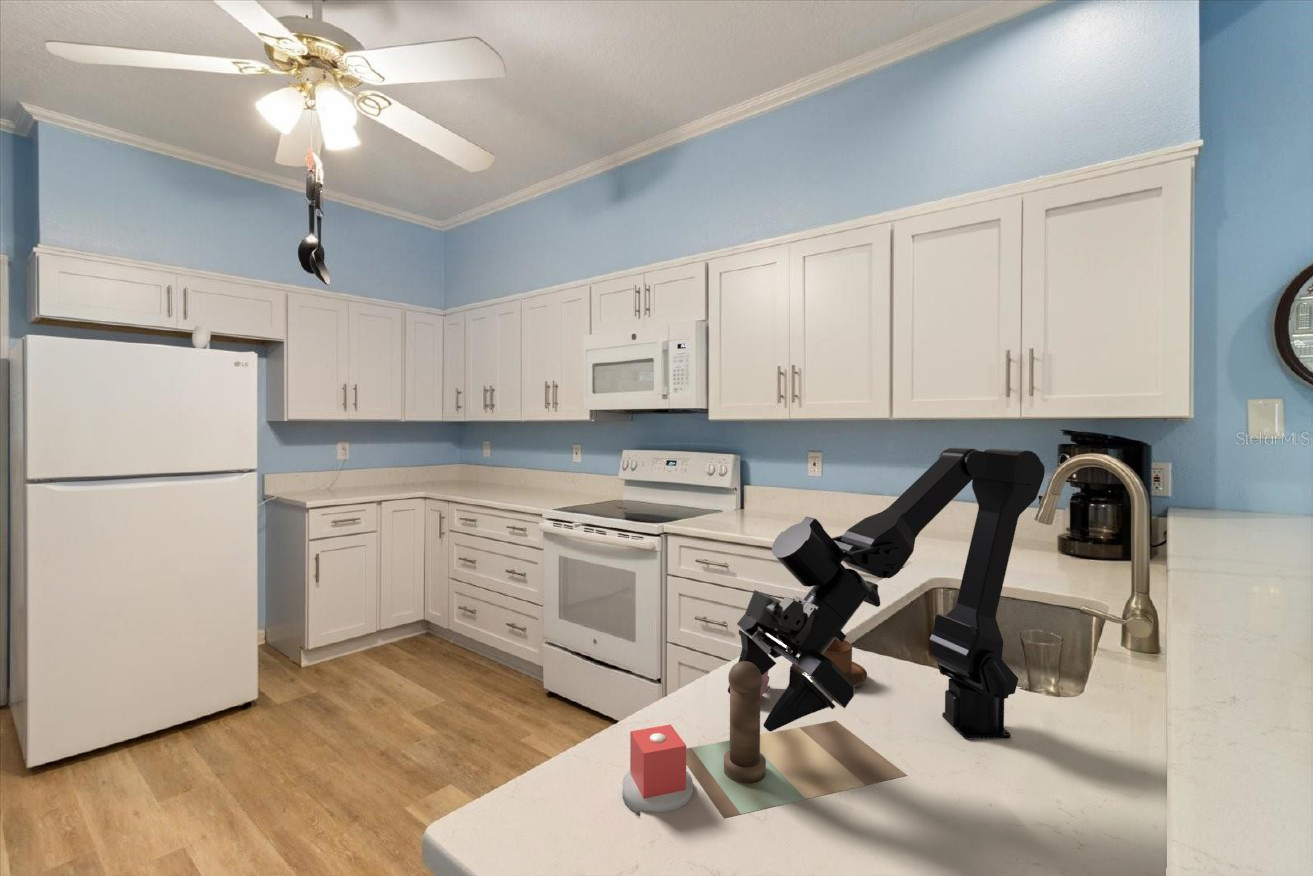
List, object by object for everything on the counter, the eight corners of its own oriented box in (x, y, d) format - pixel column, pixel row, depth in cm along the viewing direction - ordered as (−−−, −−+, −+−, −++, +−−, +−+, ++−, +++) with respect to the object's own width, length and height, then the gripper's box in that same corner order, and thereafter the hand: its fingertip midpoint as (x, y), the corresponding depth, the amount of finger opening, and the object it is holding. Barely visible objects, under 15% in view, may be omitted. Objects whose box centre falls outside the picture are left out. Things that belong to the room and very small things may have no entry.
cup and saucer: (780, 685, 98) (780, 647, 98) (806, 661, 108) (806, 627, 108) (855, 704, 92) (855, 663, 92) (875, 676, 102) (875, 640, 102)
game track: (835, 724, 85) (835, 720, 85) (907, 780, 72) (907, 775, 72) (676, 755, 77) (676, 750, 77) (724, 823, 64) (724, 818, 64)
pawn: (761, 759, 75) (762, 654, 75) (769, 783, 70) (770, 670, 70) (721, 759, 75) (721, 654, 75) (726, 783, 70) (727, 671, 70)
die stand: (677, 769, 74) (677, 715, 74) (703, 808, 66) (704, 749, 66) (614, 781, 71) (614, 726, 71) (634, 824, 64) (634, 762, 64)
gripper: (750, 552, 83) (674, 642, 79) (832, 588, 65) (740, 705, 62) (800, 604, 85) (729, 693, 82) (891, 651, 68) (806, 766, 64)
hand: (747, 710), depth 73 cm, fingers open, 9 cm apart
